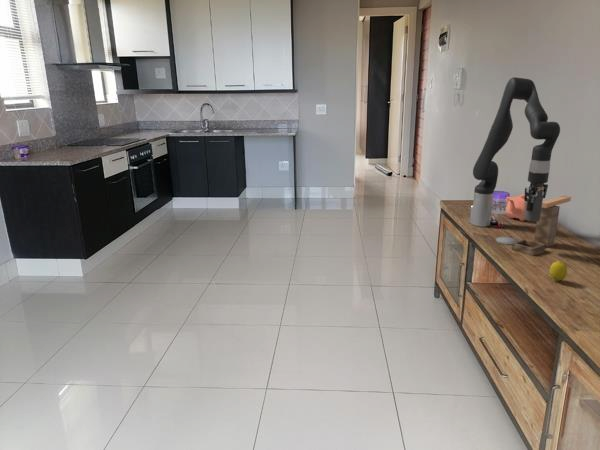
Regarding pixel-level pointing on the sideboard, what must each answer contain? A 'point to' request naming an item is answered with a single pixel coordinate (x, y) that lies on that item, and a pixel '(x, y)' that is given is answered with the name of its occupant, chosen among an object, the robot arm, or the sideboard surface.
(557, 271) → the lemon
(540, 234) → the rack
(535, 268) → the sideboard surface
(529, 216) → the bottle
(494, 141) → the robot arm
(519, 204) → the teapot
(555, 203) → the bar
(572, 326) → the sideboard surface
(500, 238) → the mat
